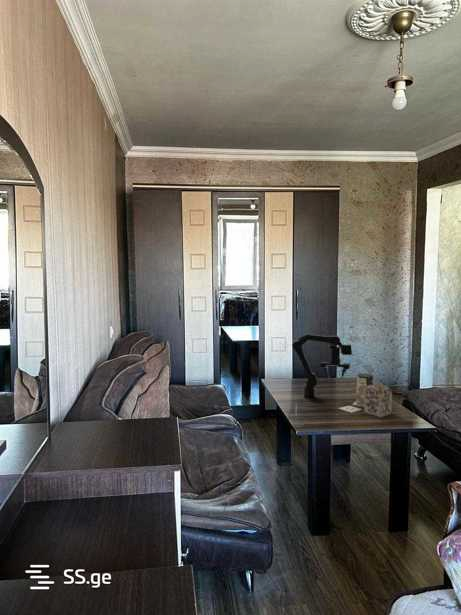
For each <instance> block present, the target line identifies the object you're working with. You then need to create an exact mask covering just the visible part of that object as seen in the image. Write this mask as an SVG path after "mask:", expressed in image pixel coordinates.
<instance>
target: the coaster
mask: <svg viewBox="0 0 461 615" xmlns="http://www.w3.org/2000/svg"><path fill="white" fill-rule="evenodd" d="M351 406H358V407H363V408H364V405H358V404H356V401H355V402H353V403H352V404H351Z"/></svg>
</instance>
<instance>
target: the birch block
mask: <svg viewBox="0 0 461 615" xmlns="http://www.w3.org/2000/svg"><path fill="white" fill-rule="evenodd" d="M355 388H356V389H355V390H356V391H355V393H356V394H355V402H356V404H358V405H364V390H365V389H366V388H367V385H365V384H358V385H357V384H356V387H355Z"/></svg>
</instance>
